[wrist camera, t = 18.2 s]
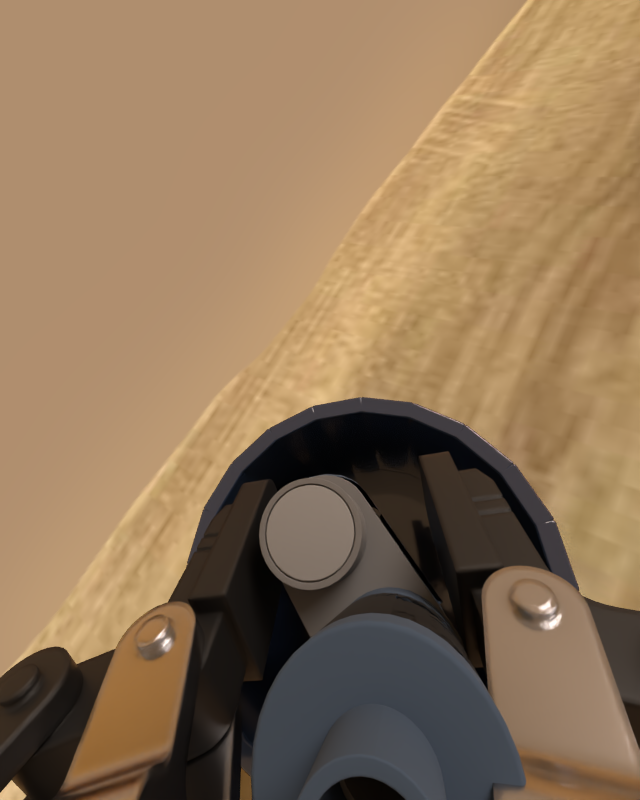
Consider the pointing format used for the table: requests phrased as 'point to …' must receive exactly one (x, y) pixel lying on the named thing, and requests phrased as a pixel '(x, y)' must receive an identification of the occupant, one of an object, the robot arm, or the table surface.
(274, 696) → the vaping device
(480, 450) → the pen cup
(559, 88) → the table surface
